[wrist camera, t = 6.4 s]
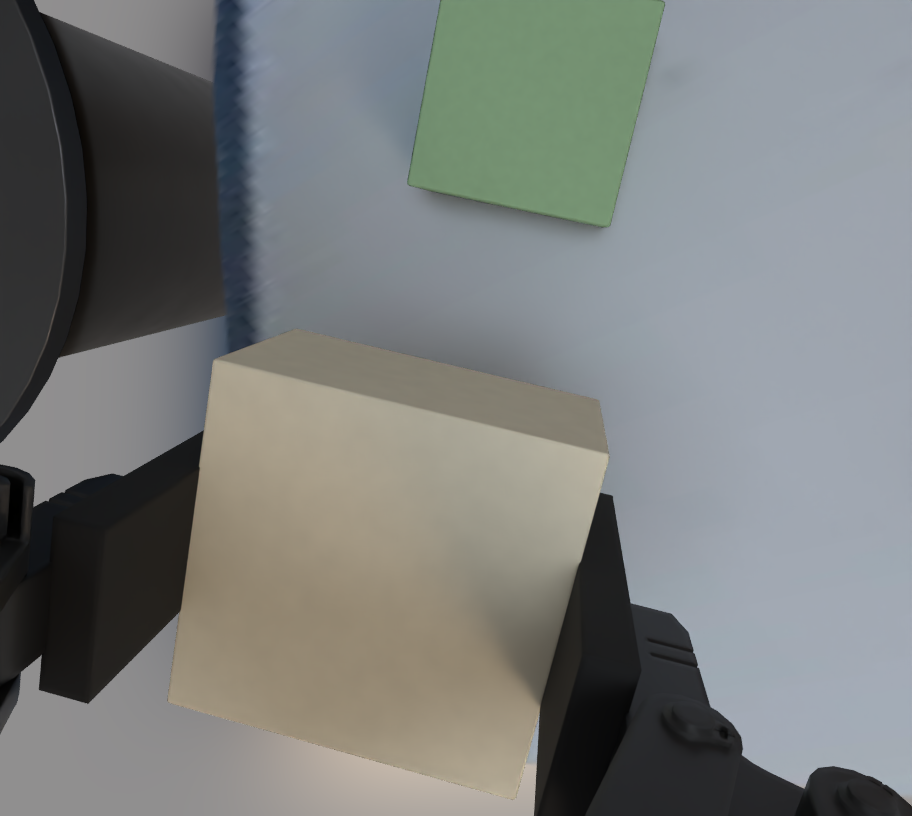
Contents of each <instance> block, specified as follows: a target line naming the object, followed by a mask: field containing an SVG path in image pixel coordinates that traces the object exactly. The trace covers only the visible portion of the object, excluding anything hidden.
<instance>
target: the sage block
mask: <svg viewBox="0 0 912 816" xmlns="http://www.w3.org/2000/svg"><path fill="white" fill-rule="evenodd" d="M664 7H665V2H664V1H661V0H440V5H439V11H438V16H437V22H436V27H435V33H434V38H433V44H432V49H431V55H430V60H429V66H428V71H427V77H426V82H425V88H424V93H423V99H422V104H421V109H420V115H419V120H418V126H417V131H416V137H415V142H414V148H413V153H412V159H411V164H410V170H409V175H408V181H407V184H408V185H409V186H413V187H416V188H420V189H424V190H428V191H432V192H437V193H441V194H446V195H451V196H456V197H460V198H465V199H470V200H475V201H479V202H484V203H489V204H494V205H498V206H503V207H508V208H513V209H517V210H522V211H527V212H531V213H536V214H541V215H546V216H550V217H555V218H560V219H565V220H569V221H574V222H579V223H584V224H588V225H593V226H598V227H609V226H610V224H611V220H612V216H613V212H614V208H615V204H616V200H617V196H618V192H619V188H620V184H621V180H622V176H623V172H624V168H625V164H626V160H627V156H628V152H629V148H630V143H631V139H632V135H633V131H634V127H635V123H636V119H637V115H638V111H639V107H640V103H641V99H642V95H643V91H644V87H645V83H646V79H647V75H648V71H649V67H650V63H651V59H652V55H653V51H654V47H655V43H656V39H657V35H658V31H659V27H660V23H661V19H662V15H663V11H664Z"/></svg>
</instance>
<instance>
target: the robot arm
mask: <svg viewBox="0 0 912 816" xmlns="http://www.w3.org/2000/svg"><path fill="white" fill-rule="evenodd" d="M203 433H204V431H202V432H200V433H198V434H197V435H195V436H193V437H192V438H190V439H188V440H186V441H184V442H183V443H181V444H179V445H177V446H176V447H174V448H172V449H170V450H169V451H167V452H165V453H164V454H162V455H160V456H158V457H156V458H155V459H153V460H151V461H150V462H148V463H146V464H144V465H142V466H141V467H139V468H137V469H135V470H134V471H132V472H130V473H128V474H127V475H125V476H120V475H116V474H108V475H104V476H100V477H95V478H91V479H87V480H84V481H82V482H80V483H78V484H76V485H74V486H72V487H71V488H69V489H67V490H66V491H65V493H59V494H57V495H56V496H54V497H52V498H50V499H49V501H44V502H43V503H41V504H39V505H37V506H35V507H33V502H34V487H35V479H34V478H33V477H32V476H31V475H30V474H29V473H27V472H25V471H23V470H20V469H18V468H15V467H10V466H5V465H0V733H1V731H2V729H3V727H4V725H5V724H6V722H7V720H8V718H9V716H10V714H11V712H12V710H13V709H14V707H15V705H16V703H17V701H18V695H19V690H20V676H21V671H23V670H24V669H25V668H26V667H28V666H29V665H30V664H31V663H32V662H33V661H35V660H36V659H37V658H38V657H40V656H41V655H42V659H41V672H40V684H39V690H41V691H45V692H48V693H52V694H56V695H59V696H63V697H67V698H70V699H73V700H77V701H80V702H84V703H87V704H88V703H89V702H90V701H91V700H92V699H93V698H94V697H95V696H96V695H97V694H98V693H99V692H100V691H101V690H102V689H103V688H104V687H105V686H106V685H107V684H108V683H109V682H110V681H111V680H112V679H113V678H114V677H115V676H116V675H117V674H118V673H119V672H120V671H121V670H122V669H123V668H124V667H125V666H126V665H127V664H128V663H129V662H130V661H131V660H132V659H133V658H134V657H135V656H136V655H137V654H138V653H139V652H140V651H141V650H142V649H143V648H144V647H145V646H146V645H147V644H148V643H149V642H150V641H151V640H152V639H153V638H154V637H155V636H156V635H157V634H158V633H159V632H160V631H161V630H162V629H163V628H164V627H165V626H166V625H167V624H168V623H169V622H170V621H171V620H172V619H173V618H174V617H175V616H176V615H177V614H178V613H179V612H180V611H181V606H182V599H183V591H184V584H185V576H186V569H187V561H188V554H189V546H190V539H191V531H192V524H193V516H194V509H195V502H196V494H197V487H198V479H199V472H200V467H199V462H200V455H201V447H202V440H203ZM697 666H698V664H697V660H696V657H695V654H694V653H693V647H692V643H691V640H690V637H689V633H688V632H687V630H686V629H685V628H684V627H683V626H682V625H681V624H680V623H679V622H678V620H677V619H676V618H675V617H674V616H673V615H672V614H670V613H666V612H662V611H658V610H654V609H651V608H647V607H643V606H639V605H635V604H631V603H630V598H629V592H628V586H627V580H626V574H625V568H624V562H623V556H622V550H621V544H620V538H619V532H618V526H617V520H616V514H615V508H614V502H613V496H611V495H607V494H603V493H600V494H599V498H598V501H597V505H596V509H595V512H594V516H593V519H592V523H591V527H590V530H589V534H588V538H587V541H586V545H585V549H584V552H583V556H582V560H581V562H580V563H579V566H578V569H577V573H576V577H575V580H574V584H573V588H572V591H571V595H570V599H569V602H568V606H567V610H566V613H565V617H564V621H563V625H562V628H561V632H560V636H559V639H558V643H557V647H556V650H555V654H554V658H553V661H552V665H551V669H550V672H549V676H548V680H547V683H546V687H545V691H544V694H543V698H542V702H541V705H540V718H539V737H538V755H537V773H536V791H535V810H534V816H912V806H911V805H910V804H909V803H908V802H906V801H905V800H904V799H903V798H902V797H901V796H900V795H899V794H897V792H895V791H894V790H893V789H891V788H890V787H888V786H887V785H883V784H882V782H880V781H878V780H876V779H875V778H873V777H870V776H865V775H863V774H861V773H858V772H856V771H854V770H849V769H844V768H839V767H834V766H832V767H823V768H818V769H816V770H815V771H814V772H813V773H812V774H811V775H810V776H809V779H808V782H807V784H806V787H805V789H803V788H801V787H799V786H797V785H795V784H793V783H791V782H789V781H786V780H784V779H782V778H780V777H778V776H776V775H774V774H772V773H770V772H768V771H766V770H764V769H762V768H760V767H759V766H757V765H755V764H753V763H752V762H750V761H749V760H748V759H746V758H745V757H743V756H742V750H743V747H742V740H741V736H740V735H739V733H738V732H737V730H736V729H735V727H734V726H733V724H732V723H731V722H729V721H728V720H727V719H726V718H725V717H724V716H722V715H721V714H720V713H719V712H718V711H716V710H714V709H712V708H711V707H710V704H709V701H708V697H707V694H706V691H705V687H704V684H703V681H702V677H701V674H700V670H699V668H697Z"/></svg>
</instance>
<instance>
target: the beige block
mask: <svg viewBox="0 0 912 816" xmlns="http://www.w3.org/2000/svg"><path fill="white" fill-rule="evenodd" d="M609 457H610V456H609V451H608V445H607V440H606V435H605V430H604V424H603V419H602V414H601V409H600V403H599V400H597V399H593V398H589V397H584V396H580V395H576V394H572V393H567V392H563V391H559V390H555V389H551V388H546V387H542V386H538V385H534V384H529V383H525V382H521V381H517V380H512V379H508V378H504V377H500V376H495V375H491V374H487V373H483V372H479V371H474V370H470V369H466V368H462V367H457V366H453V365H449V364H445V363H440V362H436V361H432V360H428V359H423V358H419V357H415V356H411V355H407V354H402V353H398V352H394V351H390V350H385V349H381V348H377V347H373V346H368V345H364V344H360V343H356V342H351V341H347V340H343V339H339V338H335V337H330V336H326V335H322V334H318V333H313V332H309V331H305V330H301V329H294V330H291V331H288V332H286V333H283V334H280V335H278V336H275V337H272V338H270V339H267V340H264V341H262V342H259V343H256V344H253V345H251V346H248V347H245V348H243V349H240V350H237V351H235V352H232V353H229V354H227V355H224V356H221V357H219V358H216V359H214V361H213V366H212V373H211V381H210V388H209V396H208V403H207V410H206V419H205V425H204V433H203V440H202V447H201V455H200V462H199V467H200V472H199V479H198V487H197V494H196V502H195V509H194V516H193V524H192V531H191V539H190V546H189V554H188V561H187V569H186V576H185V584H184V591H183V599H182V606H181V611H180V612H179V618H178V625H177V632H176V640H175V647H174V655H173V662H172V669H171V677H170V685H169V692H168V699H167V701H168V703H171V704H174V705H178V706H181V707H185V708H189V709H192V710H195V711H199V712H203V713H206V714H210V715H214V716H217V717H220V718H224V719H227V720H231V721H234V722H238V723H242V724H245V725H249V726H253V727H256V728H259V729H263V730H266V731H270V732H274V733H277V734H281V735H284V736H288V737H292V738H295V739H298V740H302V741H306V742H309V743H312V744H316V745H320V746H323V747H327V748H330V749H334V750H337V751H341V752H345V753H348V754H352V755H355V756H359V757H362V758H366V759H369V760H373V761H376V762H380V763H384V764H387V765H391V766H394V767H398V768H402V769H405V770H408V771H412V772H415V773H419V774H422V775H426V776H430V777H434V778H437V779H441V780H444V781H447V782H451V783H455V784H458V785H462V786H465V787H469V788H472V789H476V790H480V791H483V792H486V793H490V794H494V795H497V796H501V797H504V798H508V799H511V800H514V799H515V798H516V796H517V793H518V789H519V786H520V782H521V778H522V775H523V771H524V767H525V764H526V760H527V757H528V753H529V749H530V746H531V742H532V738H533V735H534V731H535V727H536V724H537V720H538V716H539V713H540V705H541V702H542V698H543V694H544V691H545V687H546V683H547V680H548V676H549V672H550V669H551V665H552V661H553V658H554V654H555V650H556V647H557V643H558V639H559V636H560V632H561V628H562V625H563V621H564V617H565V613H566V610H567V606H568V602H569V599H570V595H571V591H572V588H573V584H574V580H575V577H576V573H577V569H578V566H579V563H580V562H581V560H582V556H583V552H584V549H585V545H586V541H587V538H588V534H589V530H590V527H591V523H592V519H593V516H594V512H595V509H596V505H597V501H598V498H599V494H600V490H601V487H602V483H603V479H604V476H605V472H606V468H607V465H608V461H609Z"/></svg>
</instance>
